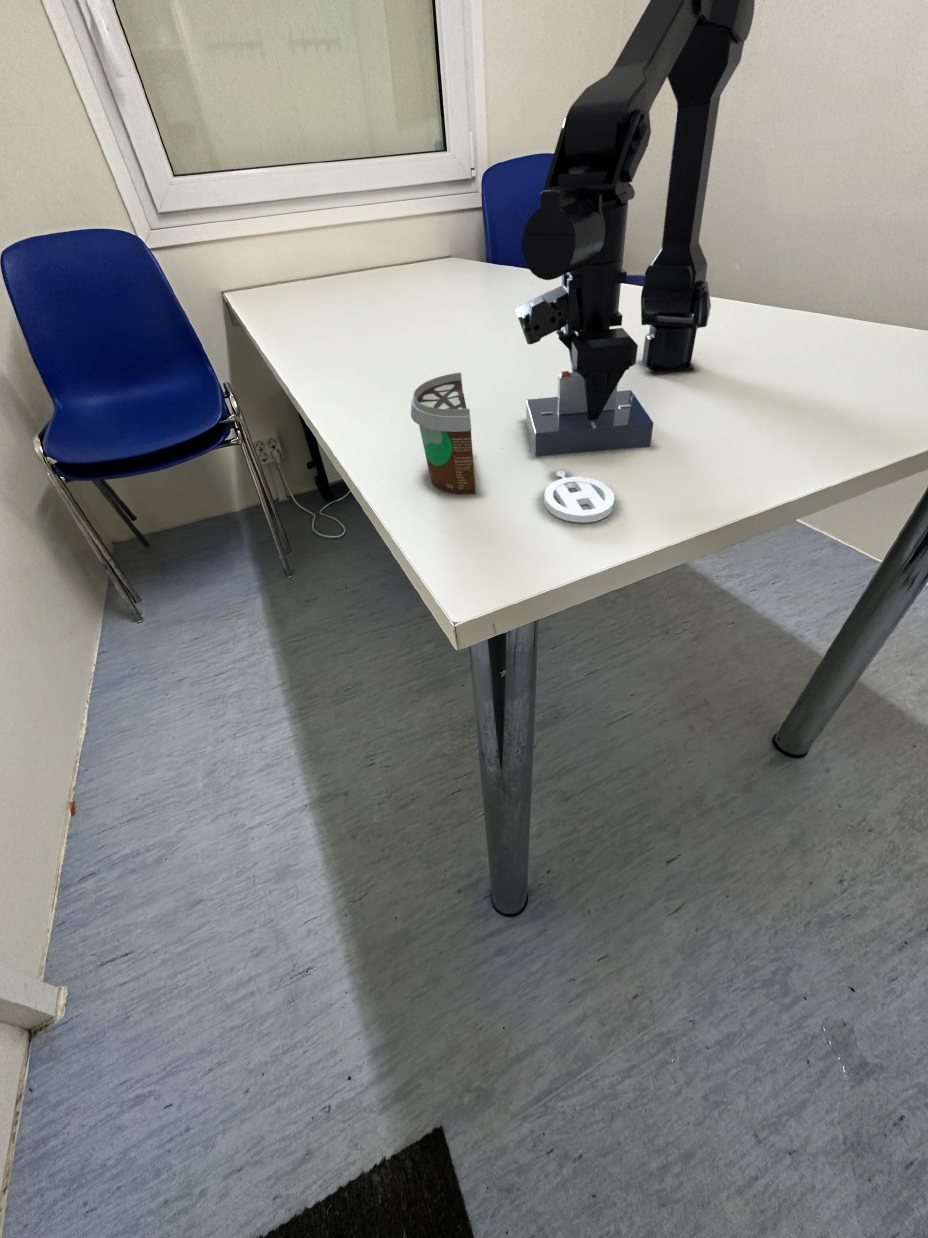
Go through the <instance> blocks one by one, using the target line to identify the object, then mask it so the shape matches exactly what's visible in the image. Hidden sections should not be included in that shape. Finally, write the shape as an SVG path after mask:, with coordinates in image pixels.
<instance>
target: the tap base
mask: <svg viewBox="0 0 928 1238" xmlns="http://www.w3.org/2000/svg"><path fill="white" fill-rule="evenodd" d="M525 403H526V406H525V409H526V410H525V413H526V415H525V416H526V417H525V418H526V419H525V420H526V425H527V429H528V433H529V437H530V441H531V445H532V448H533V452H534V456H535V457H546V456H547V457H548V456H558V455H559V456H560V455H568V454H582V453H591V452H593V453H594V452H603V451H604V452H605V451H614V450H616V451H617V450H626V449H627V450H628V449H639V448H648V447H649V448H650V447H651V443H652V438H653V437H652V435H653V429H654V421H653V420H652V418H651V417H650V415H649V414H648V412H647V411H646V409H645V408H644V407H643V406H642V404H641V402H640V401H639V399H638V398H637V396H636V395H635V393H634V392H633V391H632V389H627V390H617V396H616V406H615V410H606V411H602V412H601V414H600V416H599V417H598V419H596V420H589V419H588V414H587V412H584V413H573V414H562V415H559V413H558V410H557V405H558V396H552V397H540V398H529V399H526V400H525Z"/></svg>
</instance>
